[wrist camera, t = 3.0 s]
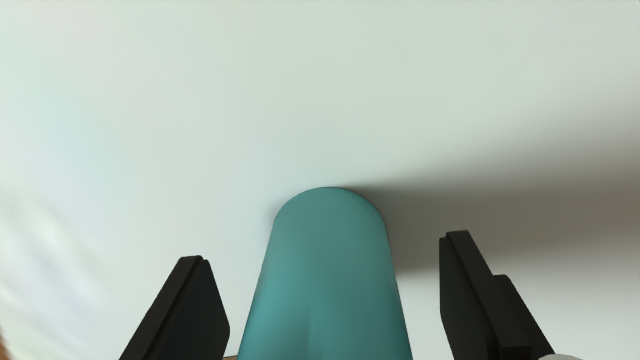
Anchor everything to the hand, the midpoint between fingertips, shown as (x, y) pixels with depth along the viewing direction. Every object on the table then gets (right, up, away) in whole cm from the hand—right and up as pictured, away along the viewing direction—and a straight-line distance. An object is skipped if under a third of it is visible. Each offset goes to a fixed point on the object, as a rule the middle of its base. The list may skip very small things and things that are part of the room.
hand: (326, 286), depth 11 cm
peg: (0, +1, +2) cm, 3 cm away
